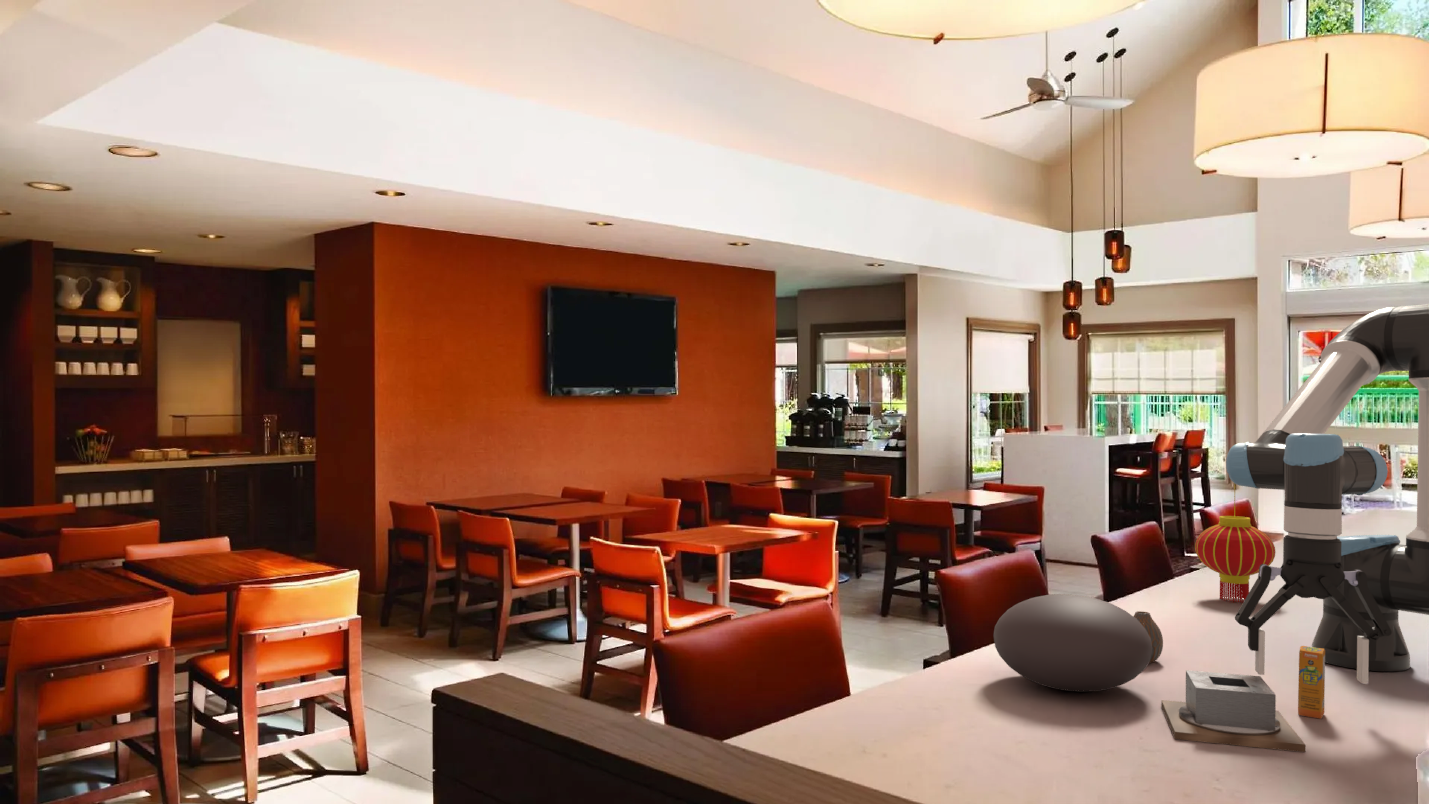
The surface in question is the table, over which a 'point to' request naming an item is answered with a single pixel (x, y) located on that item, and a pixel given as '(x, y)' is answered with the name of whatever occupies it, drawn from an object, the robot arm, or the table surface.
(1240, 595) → the lantern
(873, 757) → the table surface
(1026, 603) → the smooth stone
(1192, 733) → the walnut board
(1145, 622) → the vase
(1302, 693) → the supplement box
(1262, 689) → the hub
